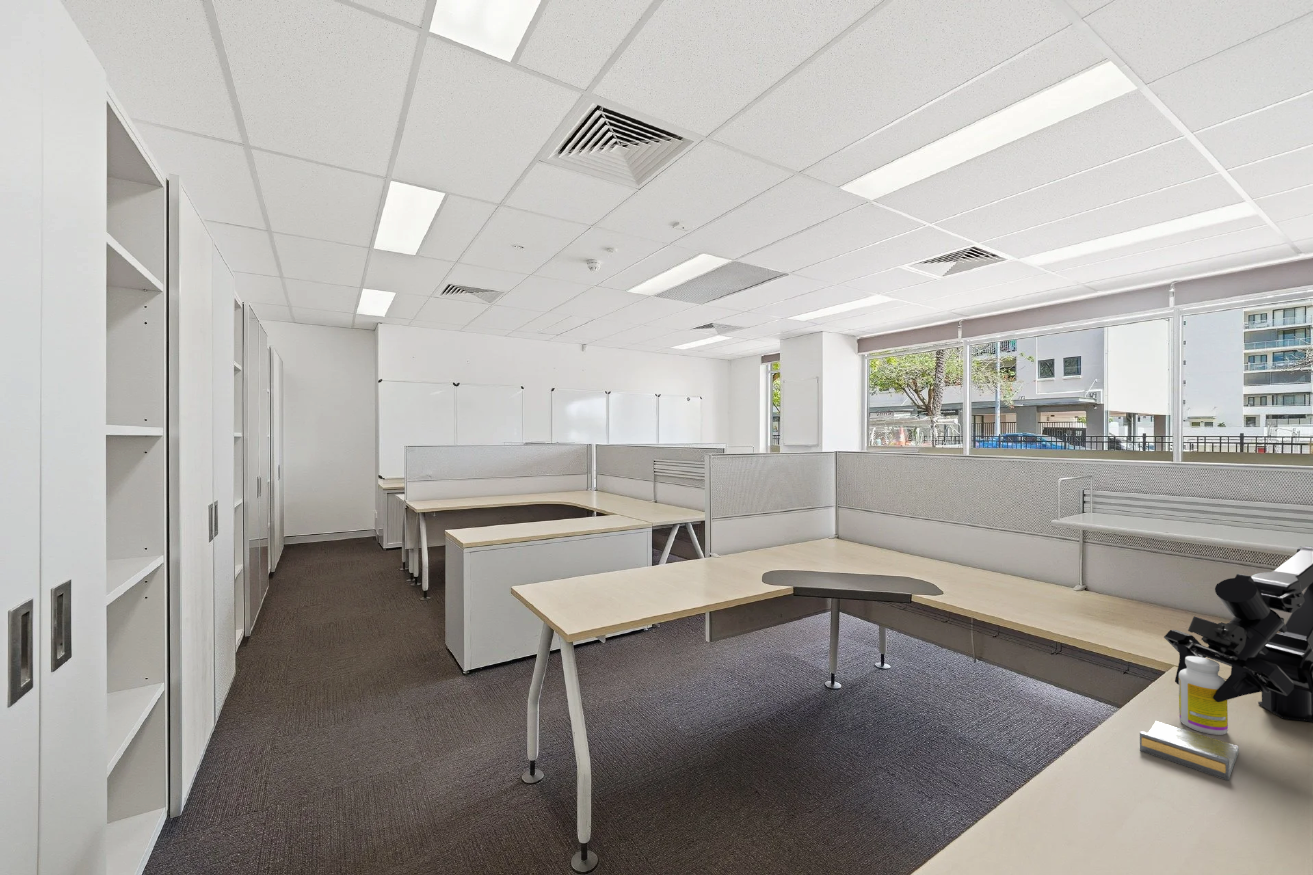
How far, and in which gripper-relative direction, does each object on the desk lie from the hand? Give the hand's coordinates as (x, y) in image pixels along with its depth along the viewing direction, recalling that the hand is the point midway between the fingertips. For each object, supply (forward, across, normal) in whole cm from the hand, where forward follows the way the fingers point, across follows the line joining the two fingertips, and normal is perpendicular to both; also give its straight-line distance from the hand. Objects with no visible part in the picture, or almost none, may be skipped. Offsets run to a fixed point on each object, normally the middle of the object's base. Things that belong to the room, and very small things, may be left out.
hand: (1195, 691), depth 105 cm
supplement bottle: (+4, 0, +6) cm, 7 cm away
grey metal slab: (+11, +7, -2) cm, 13 cm away
